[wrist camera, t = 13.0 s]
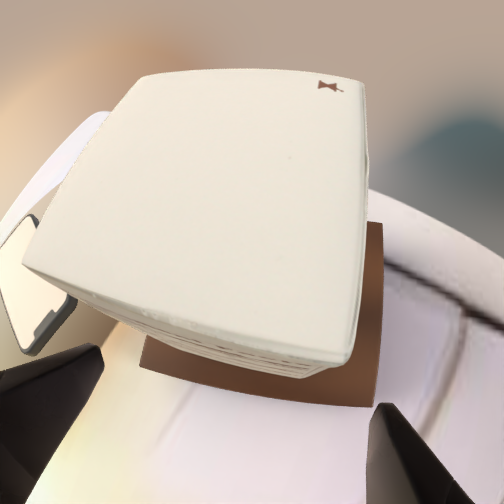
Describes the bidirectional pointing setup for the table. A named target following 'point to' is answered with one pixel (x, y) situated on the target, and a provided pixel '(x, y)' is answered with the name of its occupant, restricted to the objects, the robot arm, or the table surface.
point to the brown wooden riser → (288, 388)
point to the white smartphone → (30, 293)
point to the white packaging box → (221, 217)
